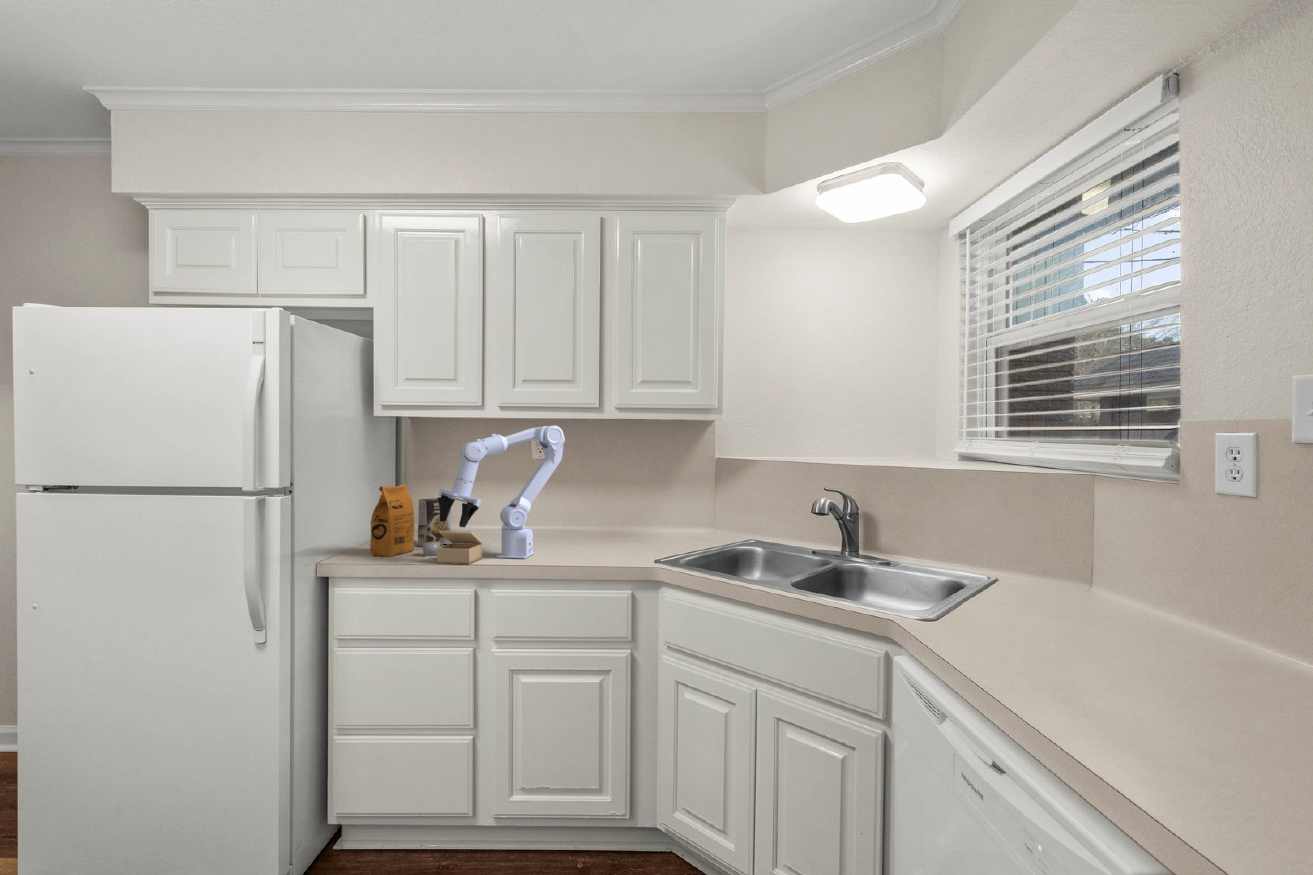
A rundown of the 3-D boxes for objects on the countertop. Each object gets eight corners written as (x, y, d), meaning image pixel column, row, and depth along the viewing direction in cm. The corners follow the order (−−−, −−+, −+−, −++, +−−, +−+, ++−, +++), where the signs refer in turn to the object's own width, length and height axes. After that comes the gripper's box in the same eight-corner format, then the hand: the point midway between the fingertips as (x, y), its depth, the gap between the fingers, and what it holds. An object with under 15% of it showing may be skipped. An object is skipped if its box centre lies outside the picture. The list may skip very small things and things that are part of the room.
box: (481, 558, 187) (482, 544, 187) (469, 564, 178) (469, 549, 178) (451, 557, 188) (451, 543, 188) (437, 563, 179) (437, 548, 179)
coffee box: (427, 547, 204) (428, 500, 204) (417, 545, 208) (417, 499, 208) (451, 544, 211) (451, 498, 211) (440, 542, 215) (441, 497, 215)
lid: (482, 544, 187) (482, 542, 187) (471, 533, 179) (471, 531, 179) (451, 542, 188) (451, 541, 188) (438, 532, 180) (439, 530, 180)
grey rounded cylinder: (442, 554, 194) (442, 541, 194) (434, 557, 189) (434, 544, 189) (428, 553, 194) (428, 541, 194) (419, 556, 189) (420, 543, 189)
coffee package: (364, 555, 190) (365, 486, 190) (395, 548, 202) (395, 483, 202) (388, 557, 187) (389, 487, 187) (418, 551, 198) (418, 484, 198)
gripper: (437, 474, 183) (424, 517, 181) (475, 483, 177) (462, 528, 176) (452, 477, 189) (440, 519, 188) (489, 486, 184) (477, 530, 182)
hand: (452, 524), depth 182 cm, fingers open, 7 cm apart
